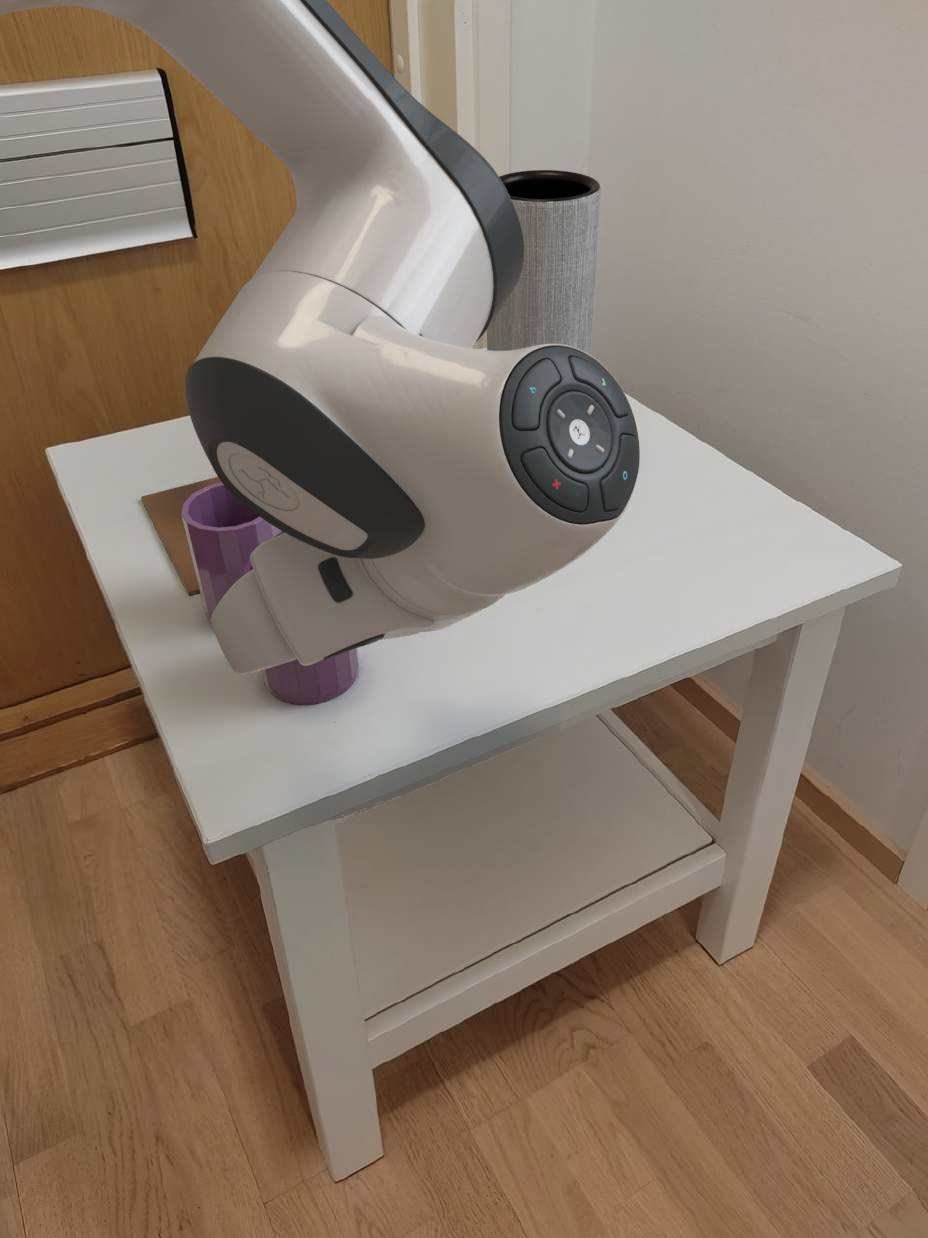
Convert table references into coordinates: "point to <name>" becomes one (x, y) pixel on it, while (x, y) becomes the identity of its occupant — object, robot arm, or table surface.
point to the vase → (551, 262)
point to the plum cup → (311, 676)
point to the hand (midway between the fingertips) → (347, 601)
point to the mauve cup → (221, 539)
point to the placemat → (176, 527)
